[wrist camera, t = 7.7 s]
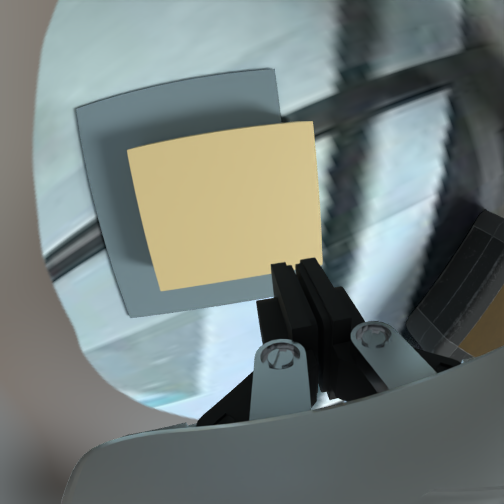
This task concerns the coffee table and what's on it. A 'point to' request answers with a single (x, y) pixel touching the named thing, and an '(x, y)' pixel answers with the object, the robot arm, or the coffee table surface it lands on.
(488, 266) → the cash box
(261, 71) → the mat
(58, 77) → the coffee table surface
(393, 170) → the coffee table surface
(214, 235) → the pale yellow block
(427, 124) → the coffee table surface
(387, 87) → the coffee table surface
